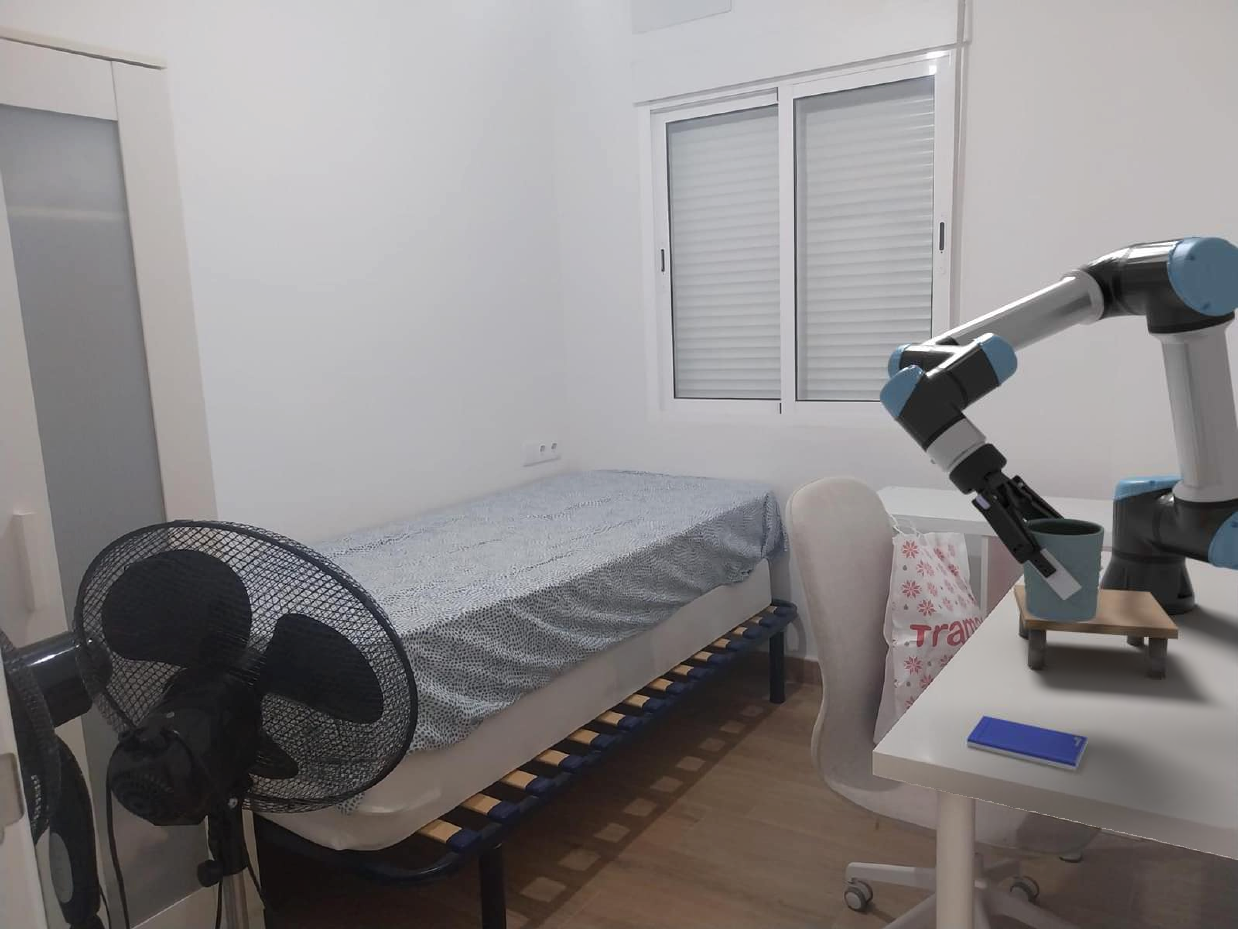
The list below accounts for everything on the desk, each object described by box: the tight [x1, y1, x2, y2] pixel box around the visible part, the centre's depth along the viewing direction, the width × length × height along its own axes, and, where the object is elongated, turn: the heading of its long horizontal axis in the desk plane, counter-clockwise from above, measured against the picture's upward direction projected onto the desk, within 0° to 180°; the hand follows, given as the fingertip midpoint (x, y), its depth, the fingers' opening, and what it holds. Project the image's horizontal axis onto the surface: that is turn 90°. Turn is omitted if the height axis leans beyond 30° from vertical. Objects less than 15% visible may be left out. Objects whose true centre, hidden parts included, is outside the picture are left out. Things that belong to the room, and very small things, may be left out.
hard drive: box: [966, 715, 1089, 772], centre depth 114 cm, size 2×8×12 cm
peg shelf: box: [1013, 584, 1179, 680], centre depth 141 cm, size 20×18×8 cm
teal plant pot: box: [1022, 518, 1105, 623], centre depth 122 cm, size 10×10×12 cm
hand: (1084, 583), depth 121 cm, fingers closed on teal plant pot, 10 cm apart
